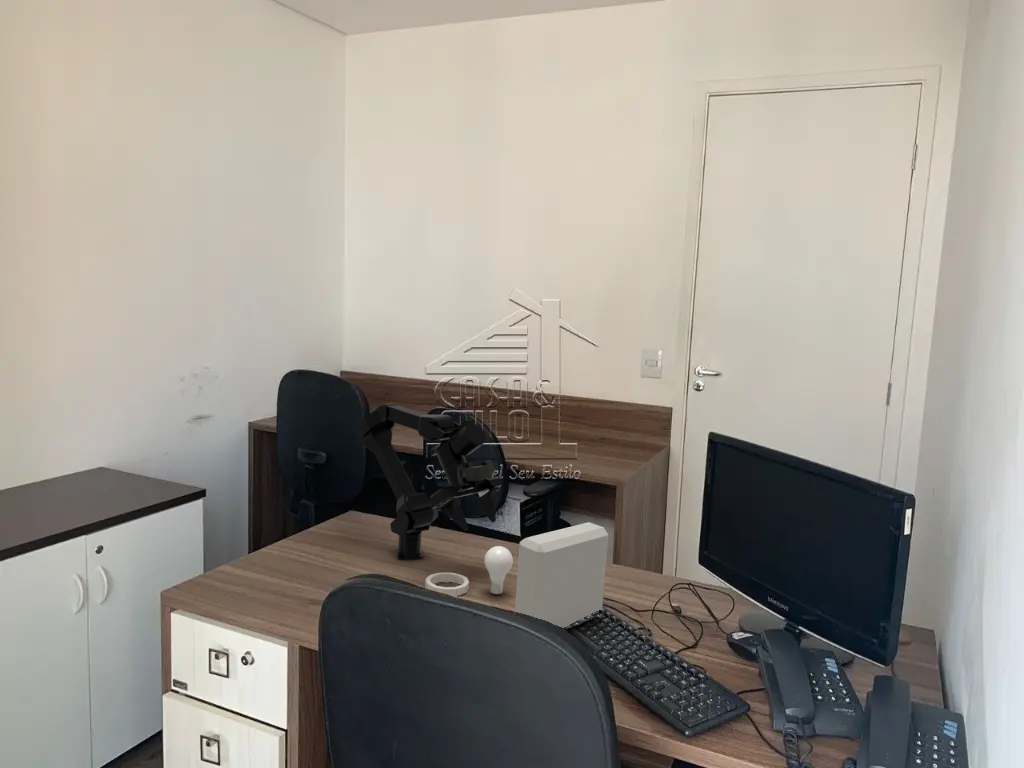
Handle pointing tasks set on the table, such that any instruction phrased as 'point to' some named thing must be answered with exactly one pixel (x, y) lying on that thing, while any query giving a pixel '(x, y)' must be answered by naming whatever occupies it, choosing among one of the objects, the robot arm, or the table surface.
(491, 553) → the lightbulb
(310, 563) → the table surface
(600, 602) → the bevelled white case
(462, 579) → the socket
